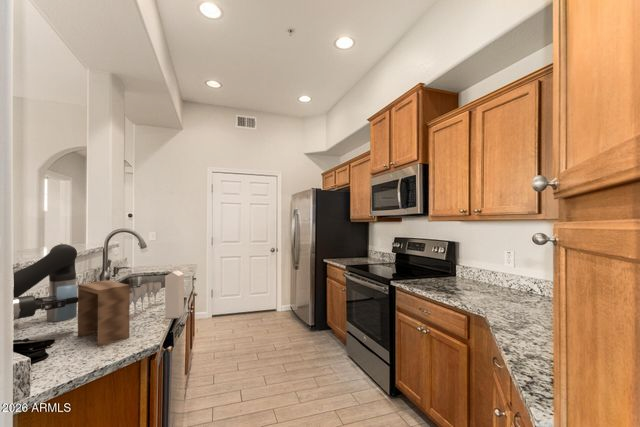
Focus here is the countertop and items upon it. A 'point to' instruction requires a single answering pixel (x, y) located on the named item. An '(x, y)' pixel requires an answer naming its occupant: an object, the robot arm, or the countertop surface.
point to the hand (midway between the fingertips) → (74, 298)
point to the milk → (174, 294)
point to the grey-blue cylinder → (69, 309)
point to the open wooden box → (104, 310)
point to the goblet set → (143, 294)
